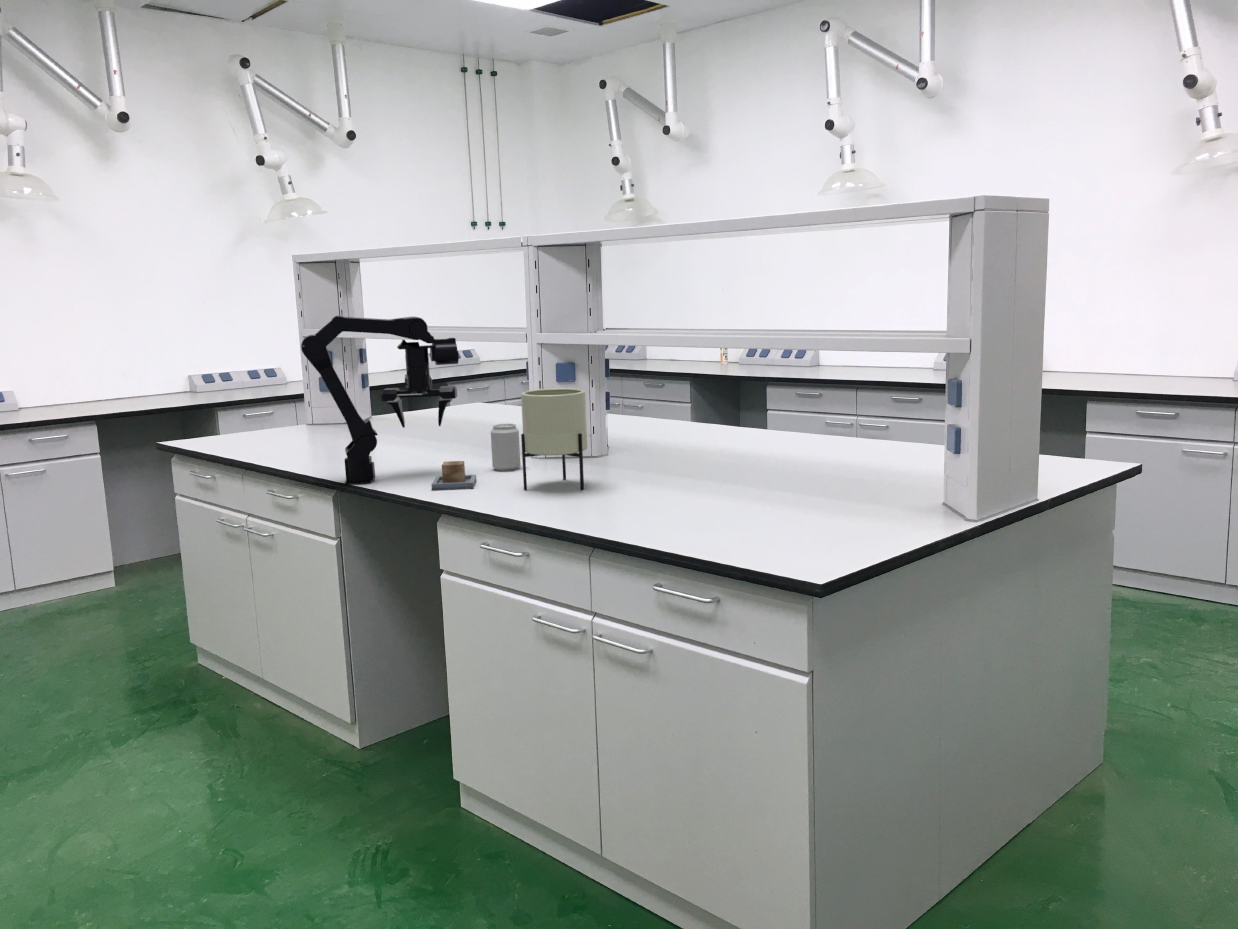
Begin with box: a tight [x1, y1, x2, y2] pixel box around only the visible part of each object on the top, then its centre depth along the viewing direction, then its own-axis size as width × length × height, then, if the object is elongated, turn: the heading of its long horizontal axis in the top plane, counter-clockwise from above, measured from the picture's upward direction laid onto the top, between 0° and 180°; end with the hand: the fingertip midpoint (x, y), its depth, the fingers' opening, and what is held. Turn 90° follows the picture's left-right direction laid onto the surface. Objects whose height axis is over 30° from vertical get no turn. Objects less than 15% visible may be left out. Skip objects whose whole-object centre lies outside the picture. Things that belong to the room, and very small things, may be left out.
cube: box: [441, 460, 466, 483], centre depth 241 cm, size 5×5×5 cm
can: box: [490, 423, 521, 472], centre depth 259 cm, size 8×8×12 cm
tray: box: [431, 474, 477, 491], centre depth 241 cm, size 10×10×2 cm
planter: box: [520, 387, 588, 491], centre depth 234 cm, size 15×16×23 cm
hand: (421, 426), depth 252 cm, fingers open, 9 cm apart
